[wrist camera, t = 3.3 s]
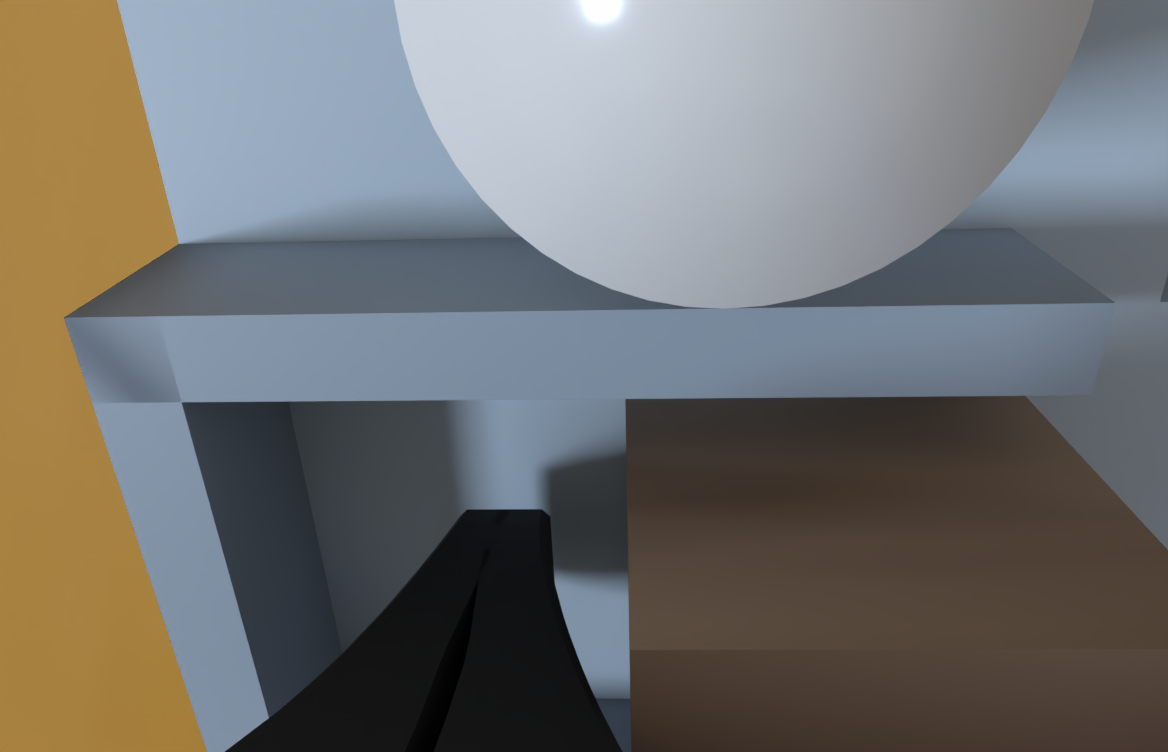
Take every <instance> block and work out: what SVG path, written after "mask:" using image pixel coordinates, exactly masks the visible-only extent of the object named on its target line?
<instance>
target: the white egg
mask: <svg viewBox="0 0 1168 752" xmlns="http://www.w3.org/2000/svg"><path fill="white" fill-rule="evenodd" d="M394 3H395V9H396V14H397V20H398V25H399V31H400V36H401V42H402V45H403V48H404V52H405V55H406V58H407V61H408V65H409V68H410V71H411V74H412V78H413V81H414V84H415V87H416V89H417V92H418V94H419V96H420V99H421V101H422V103H423V105H424V108H425V110H426V112H427V114H428V117H429V119H430V121H431V123H432V126H433V128H434V130H435V131H436V133H437V135H438V136H439V138H440V140H441V141H442V143H443V145H444V147H445V148H446V150H447V152H448V153H449V155H450V157H451V158H452V160H453V162H454V163H455V165H456V166H457V168H458V169H459V170H460V172H461V173H462V174H463V176H464V177H465V178H466V179H467V181H468V182H469V183H470V185H471V186H472V187H473V189H474V190H475V191H476V192H477V194H478V195H479V196H480V198H481V199H482V200H483V201H484V202H485V203H486V204H487V205H488V206H489V207H490V208H491V209H492V210H493V211H494V212H495V213H496V214H497V215H498V216H499V217H500V218H501V219H502V220H503V221H504V222H505V223H506V224H507V225H508V226H509V227H510V228H511V229H512V230H513V231H515V232H516V233H517V234H518V235H520V236H521V237H522V238H524V239H525V240H526V241H527V242H529V243H530V244H531V245H532V246H534V247H535V248H536V249H537V250H539V251H540V252H541V253H543V254H544V255H546V256H548V257H549V258H551V259H553V260H554V261H556V262H558V263H559V264H561V265H563V266H564V267H566V268H568V269H569V270H571V271H573V272H574V273H576V274H578V275H580V276H583V277H585V278H587V279H589V280H592V281H594V282H596V283H598V284H601V285H603V286H605V287H607V288H610V289H612V290H616V291H619V292H622V293H626V294H629V295H632V296H635V297H639V298H642V299H645V300H649V301H655V302H661V303H667V304H672V305H678V306H684V307H699V308H721V309H728V308H742V307H755V306H766V305H771V304H777V303H782V302H787V301H792V300H797V299H802V298H806V297H809V296H812V295H816V294H819V293H822V292H825V291H828V290H831V289H834V288H837V287H841V286H844V285H846V284H848V283H850V282H852V281H855V280H857V279H859V278H861V277H864V276H866V275H868V274H870V273H872V272H875V271H877V270H879V269H881V268H883V267H885V266H886V265H888V264H890V263H891V262H893V261H895V260H897V259H898V258H900V257H902V256H903V255H905V254H907V253H908V252H910V251H912V250H913V249H915V248H917V247H918V246H920V245H921V244H922V243H924V242H925V241H926V240H928V239H929V238H930V237H932V236H933V235H934V234H936V233H937V232H938V231H940V230H941V229H942V228H944V227H945V226H946V225H948V224H949V223H950V222H952V221H953V220H954V219H955V218H956V217H958V216H959V215H960V214H961V213H962V212H963V211H964V210H965V209H966V208H967V207H968V206H969V205H970V204H971V203H972V202H973V201H974V200H976V199H977V198H978V197H979V196H980V195H981V194H982V193H983V192H984V191H985V190H986V189H987V188H988V187H989V186H990V185H991V184H992V182H993V181H994V180H995V179H996V178H997V177H998V175H999V174H1000V173H1001V172H1002V171H1003V170H1004V168H1005V167H1006V166H1007V165H1008V164H1009V163H1010V161H1011V160H1012V159H1013V158H1014V157H1015V156H1016V154H1017V153H1018V152H1019V151H1020V149H1021V148H1022V146H1023V145H1024V143H1025V142H1026V140H1027V139H1028V137H1029V136H1030V134H1031V133H1032V132H1033V130H1034V129H1035V127H1036V126H1037V124H1038V123H1039V121H1040V120H1041V118H1042V117H1043V115H1044V114H1045V112H1046V111H1047V109H1048V107H1049V105H1050V103H1051V102H1052V100H1053V98H1054V96H1055V94H1056V92H1057V90H1058V88H1059V86H1060V85H1061V83H1062V81H1063V79H1064V77H1065V75H1066V73H1067V71H1068V70H1069V68H1070V65H1071V63H1072V60H1073V58H1074V55H1075V53H1076V50H1077V48H1078V45H1079V43H1080V40H1081V38H1082V35H1083V33H1084V30H1085V28H1086V25H1087V23H1088V20H1089V17H1090V14H1091V10H1092V6H1093V3H1094V0H394Z"/></svg>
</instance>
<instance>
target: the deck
mask: <svg viewBox="0 0 1168 752" xmlns="http://www.w3.org/2000/svg"><path fill="white" fill-rule="evenodd" d="M117 2H118V6H119V10H120V14H121V18H122V22H123V26H124V29H125V33H126V37H127V41H128V45H129V49H130V53H131V57H132V61H133V65H134V69H135V73H136V77H137V81H138V84H139V88H140V92H141V96H142V100H143V104H144V108H145V112H146V116H147V120H148V124H149V128H150V132H151V135H152V139H153V143H154V147H155V151H156V155H157V159H158V163H159V167H160V171H161V175H162V179H163V183H164V187H165V190H166V194H167V198H168V202H169V206H170V210H171V214H172V218H173V222H174V226H175V230H176V234H177V238H178V241H179V244H178V245H177V246H175V247H174V248H172V249H171V250H169V251H167V252H166V253H164V254H163V255H161V256H160V257H158V258H156V259H155V260H153V261H152V262H150V263H149V264H147V265H146V266H144V267H142V268H141V269H139V270H138V271H136V272H135V273H133V274H131V275H130V276H128V277H127V278H125V279H124V280H122V281H121V282H119V283H117V284H116V285H114V286H113V287H111V288H110V289H108V290H106V291H105V292H103V293H102V294H100V295H99V296H97V297H96V298H94V299H92V300H91V301H89V302H88V303H86V304H85V305H83V306H81V307H80V308H78V309H77V310H75V311H74V312H72V313H71V314H69V315H67V316H66V317H64V319H65V322H66V325H67V328H68V331H69V334H70V337H71V340H72V343H73V346H74V349H75V352H76V355H77V358H78V362H79V365H80V368H81V371H82V374H83V377H84V380H85V383H86V386H87V389H88V392H89V395H90V398H91V401H92V404H93V407H94V410H95V413H96V416H97V419H98V422H99V425H100V428H101V431H102V434H103V437H104V440H105V443H106V446H107V449H108V452H109V455H110V459H111V462H112V465H113V468H114V471H115V474H116V477H117V480H118V483H119V486H120V489H121V492H122V495H123V498H124V501H125V504H126V507H127V510H128V513H129V516H130V519H131V522H132V525H133V528H134V531H135V534H136V537H137V540H138V543H139V546H140V549H141V552H142V556H143V559H144V562H145V565H146V568H147V571H148V574H149V577H150V580H151V583H152V586H153V589H154V592H155V595H156V598H157V601H158V604H159V607H160V610H161V613H162V616H163V619H164V622H165V625H166V628H167V631H168V634H169V637H170V640H171V643H172V646H173V649H174V652H175V656H176V659H177V662H178V665H179V668H180V671H181V674H182V677H183V680H184V683H185V686H186V689H187V692H188V695H189V698H190V701H191V704H192V707H193V710H194V713H195V716H196V719H197V722H198V725H199V728H200V731H201V734H202V737H203V740H204V743H205V746H206V749H207V752H225V751H226V750H227V749H229V748H230V747H231V746H233V745H234V744H235V743H237V742H238V741H239V740H241V739H242V738H243V737H245V736H246V735H247V734H249V733H250V732H251V731H252V730H254V729H255V728H256V727H258V726H259V725H260V724H262V723H263V722H264V721H266V720H267V719H268V718H270V717H271V716H272V715H273V714H275V713H276V712H277V711H278V710H280V709H281V708H282V707H283V706H285V705H286V704H287V703H288V702H289V701H290V700H291V699H293V698H294V697H295V696H296V695H297V694H298V693H299V692H301V691H302V690H303V689H304V688H305V687H306V686H307V685H309V684H310V683H311V682H312V681H313V680H314V679H315V678H316V677H317V676H319V675H320V674H321V673H322V672H323V671H324V670H325V669H326V668H327V667H328V666H329V665H330V664H331V663H332V662H333V661H334V660H335V659H336V658H338V657H339V656H340V655H341V654H342V653H343V652H344V651H345V650H346V649H347V648H348V646H349V645H350V644H351V643H352V642H353V641H354V640H355V639H356V638H357V637H358V636H359V635H360V634H361V633H362V632H363V631H364V630H365V629H366V628H367V627H368V626H369V625H370V624H371V623H372V622H373V620H374V619H375V618H376V617H377V616H378V615H379V614H380V613H381V612H382V611H383V610H384V609H385V608H386V606H387V605H388V604H389V603H390V602H391V601H392V600H393V598H394V597H395V596H396V595H397V594H398V593H399V591H400V590H401V589H402V588H403V587H404V586H405V584H406V583H407V582H408V581H409V580H410V579H411V578H412V576H413V575H414V574H415V573H416V572H417V570H418V569H419V568H420V567H421V566H422V564H423V563H424V562H425V561H426V559H427V558H428V557H429V556H430V554H431V553H432V552H433V551H434V549H435V548H436V547H437V546H438V544H439V543H440V542H441V540H442V539H443V538H444V536H445V535H446V534H447V533H448V531H449V530H450V529H451V527H452V526H453V525H454V523H455V522H456V521H457V519H458V518H459V517H460V516H461V515H462V514H463V513H464V512H465V511H466V510H467V509H542V510H543V511H545V512H546V513H547V514H548V515H549V516H550V519H551V534H552V550H553V565H554V580H555V587H556V590H557V594H558V598H559V601H560V605H561V609H562V612H563V616H564V619H565V622H566V625H567V628H568V631H569V634H570V637H571V640H572V642H573V645H574V648H575V650H576V653H577V656H578V659H579V661H580V664H581V666H582V669H583V671H584V673H585V676H586V678H587V680H588V683H589V685H590V687H591V690H592V692H593V694H594V696H595V698H596V700H597V702H598V705H599V707H600V709H601V711H602V713H603V715H604V717H605V719H606V721H607V723H608V725H609V727H610V729H611V731H612V733H613V735H614V737H615V739H616V740H617V742H618V744H619V746H620V748H621V750H622V751H623V752H631V709H630V652H629V592H628V532H627V471H626V411H625V399H679V398H809V397H940V396H1026V397H1027V398H1028V399H1029V400H1030V401H1031V403H1032V404H1033V405H1034V406H1035V407H1036V408H1037V409H1038V410H1039V411H1040V412H1041V413H1042V414H1043V415H1044V417H1045V418H1046V419H1047V420H1048V421H1049V422H1050V423H1051V424H1052V425H1053V426H1054V427H1055V428H1056V430H1057V431H1058V432H1059V433H1060V434H1061V435H1062V436H1063V437H1064V438H1065V439H1066V440H1067V441H1068V443H1069V444H1070V445H1071V446H1072V447H1073V448H1074V449H1075V450H1076V451H1077V452H1078V453H1079V454H1080V455H1081V457H1082V458H1083V459H1084V460H1085V461H1086V462H1087V463H1088V464H1089V465H1090V466H1091V467H1092V468H1093V470H1094V471H1095V472H1096V473H1097V474H1098V475H1099V476H1100V477H1101V478H1102V479H1103V480H1104V481H1105V483H1106V484H1107V485H1108V486H1109V487H1110V488H1111V489H1112V490H1113V491H1114V492H1115V493H1116V494H1117V495H1118V497H1119V498H1120V499H1121V500H1122V501H1123V502H1124V503H1125V504H1126V505H1127V506H1128V507H1129V508H1130V510H1131V511H1132V512H1133V513H1134V514H1135V515H1136V516H1137V517H1138V518H1139V519H1140V520H1141V521H1142V523H1143V524H1144V525H1145V526H1146V527H1147V528H1148V529H1149V530H1150V531H1151V532H1152V533H1153V534H1154V536H1155V537H1156V538H1157V539H1158V540H1159V541H1160V542H1161V543H1162V544H1163V545H1164V546H1165V547H1166V548H1167V550H1168V0H1094V3H1093V6H1092V10H1091V14H1090V17H1089V20H1088V23H1087V25H1086V28H1085V30H1084V33H1083V35H1082V38H1081V40H1080V43H1079V45H1078V48H1077V50H1076V53H1075V55H1074V58H1073V60H1072V63H1071V65H1070V68H1069V70H1068V71H1067V73H1066V75H1065V77H1064V79H1063V81H1062V83H1061V85H1060V86H1059V88H1058V90H1057V92H1056V94H1055V96H1054V98H1053V100H1052V102H1051V103H1050V105H1049V107H1048V109H1047V111H1046V112H1045V114H1044V115H1043V117H1042V118H1041V120H1040V121H1039V123H1038V124H1037V126H1036V127H1035V129H1034V130H1033V132H1032V133H1031V134H1030V136H1029V137H1028V139H1027V140H1026V142H1025V143H1024V145H1023V146H1022V148H1021V149H1020V151H1019V152H1018V153H1017V154H1016V156H1015V157H1014V158H1013V159H1012V160H1011V161H1010V163H1009V164H1008V165H1007V166H1006V167H1005V168H1004V170H1003V171H1002V172H1001V173H1000V174H999V175H998V177H997V178H996V179H995V180H994V181H993V182H992V184H991V185H990V186H989V187H988V188H987V189H986V190H985V191H984V192H983V193H982V194H981V195H980V196H979V197H978V198H977V199H976V200H974V201H973V202H972V203H971V204H970V205H969V206H968V207H967V208H966V209H965V210H964V211H963V212H962V213H961V214H960V215H959V216H958V217H956V218H955V219H954V220H953V221H952V222H950V223H949V224H948V225H946V226H945V227H944V228H942V229H941V230H940V231H938V232H937V233H936V234H934V235H933V236H932V237H930V238H929V239H928V240H926V241H925V242H924V243H922V244H921V245H920V246H918V247H917V248H915V249H913V250H912V251H910V252H908V253H907V254H905V255H903V256H902V257H900V258H898V259H897V260H895V261H893V262H891V263H890V264H888V265H886V266H885V267H883V268H881V269H879V270H877V271H875V272H872V273H870V274H868V275H866V276H864V277H861V278H859V279H857V280H855V281H852V282H850V283H848V284H846V285H844V286H841V287H837V288H834V289H831V290H828V291H825V292H822V293H819V294H816V295H812V296H809V297H806V298H802V299H797V300H792V301H787V302H782V303H777V304H771V305H766V306H755V307H742V308H728V309H721V308H699V307H684V306H678V305H672V304H667V303H661V302H655V301H649V300H645V299H642V298H639V297H635V296H632V295H629V294H626V293H622V292H619V291H616V290H612V289H610V288H607V287H605V286H603V285H601V284H598V283H596V282H594V281H592V280H589V279H587V278H585V277H583V276H580V275H578V274H576V273H574V272H573V271H571V270H569V269H568V268H566V267H564V266H563V265H561V264H559V263H558V262H556V261H554V260H553V259H551V258H549V257H548V256H546V255H544V254H543V253H541V252H540V251H539V250H537V249H536V248H535V247H534V246H532V245H531V244H530V243H529V242H527V241H526V240H525V239H524V238H522V237H521V236H520V235H518V234H517V233H516V232H515V231H513V230H512V229H511V228H510V227H509V226H508V225H507V224H506V223H505V222H504V221H503V220H502V219H501V218H500V217H499V216H498V215H497V214H496V213H495V212H494V211H493V210H492V209H491V208H490V207H489V206H488V205H487V204H486V203H485V202H484V201H483V200H482V199H481V198H480V196H479V195H478V194H477V192H476V191H475V190H474V189H473V187H472V186H471V185H470V183H469V182H468V181H467V179H466V178H465V177H464V176H463V174H462V173H461V172H460V170H459V169H458V168H457V166H456V165H455V163H454V162H453V160H452V158H451V157H450V155H449V153H448V152H447V150H446V148H445V147H444V145H443V143H442V141H441V140H440V138H439V136H438V135H437V133H436V131H435V130H434V128H433V126H432V123H431V121H430V119H429V117H428V114H427V112H426V110H425V108H424V105H423V103H422V101H421V99H420V96H419V94H418V92H417V89H416V87H415V84H414V81H413V78H412V74H411V71H410V68H409V65H408V61H407V58H406V55H405V52H404V48H403V45H402V42H401V36H400V31H399V25H398V20H397V14H396V9H395V3H394V0H117Z"/></svg>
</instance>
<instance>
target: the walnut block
mask: <svg viewBox="0 0 1168 752" xmlns="http://www.w3.org/2000/svg"><path fill="white" fill-rule="evenodd" d="M625 411H626V471H627V532H628V592H629V652H630V709H631V752H1168V550H1167V548H1166V547H1165V546H1164V545H1163V544H1162V543H1161V542H1160V541H1159V540H1158V539H1157V538H1156V537H1155V536H1154V534H1153V533H1152V532H1151V531H1150V530H1149V529H1148V528H1147V527H1146V526H1145V525H1144V524H1143V523H1142V521H1141V520H1140V519H1139V518H1138V517H1137V516H1136V515H1135V514H1134V513H1133V512H1132V511H1131V510H1130V508H1129V507H1128V506H1127V505H1126V504H1125V503H1124V502H1123V501H1122V500H1121V499H1120V498H1119V497H1118V495H1117V494H1116V493H1115V492H1114V491H1113V490H1112V489H1111V488H1110V487H1109V486H1108V485H1107V484H1106V483H1105V481H1104V480H1103V479H1102V478H1101V477H1100V476H1099V475H1098V474H1097V473H1096V472H1095V471H1094V470H1093V468H1092V467H1091V466H1090V465H1089V464H1088V463H1087V462H1086V461H1085V460H1084V459H1083V458H1082V457H1081V455H1080V454H1079V453H1078V452H1077V451H1076V450H1075V449H1074V448H1073V447H1072V446H1071V445H1070V444H1069V443H1068V441H1067V440H1066V439H1065V438H1064V437H1063V436H1062V435H1061V434H1060V433H1059V432H1058V431H1057V430H1056V428H1055V427H1054V426H1053V425H1052V424H1051V423H1050V422H1049V421H1048V420H1047V419H1046V418H1045V417H1044V415H1043V414H1042V413H1041V412H1040V411H1039V410H1038V409H1037V408H1036V407H1035V406H1034V405H1033V404H1032V403H1031V401H1030V400H1029V399H1028V398H1027V397H1026V396H940V397H809V398H679V399H625Z"/></svg>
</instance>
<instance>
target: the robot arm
mask: <svg viewBox="0 0 1168 752" xmlns="http://www.w3.org/2000/svg"><path fill="white" fill-rule="evenodd" d="M225 752H623V751H622V750H621V748H620V746H619V744H618V742H617V740H616V739H615V737H614V735H613V733H612V731H611V729H610V727H609V725H608V723H607V721H606V719H605V717H604V715H603V713H602V711H601V709H600V707H599V705H598V702H597V700H596V698H595V696H594V694H593V692H592V690H591V687H590V685H589V683H588V680H587V678H586V676H585V673H584V671H583V669H582V666H581V664H580V661H579V659H578V656H577V653H576V650H575V648H574V645H573V642H572V640H571V637H570V634H569V631H568V628H567V625H566V622H565V619H564V616H563V612H562V609H561V605H560V601H559V598H558V594H557V590H556V587H555V580H554V565H553V550H552V534H551V519H550V516H549V515H548V514H547V513H546V512H545V511H543V510H542V509H467V510H466V511H465V512H464V513H463V514H462V515H461V516H460V517H459V518H458V519H457V521H456V522H455V523H454V525H453V526H452V527H451V529H450V530H449V531H448V533H447V534H446V535H445V536H444V538H443V539H442V540H441V542H440V543H439V544H438V546H437V547H436V548H435V549H434V551H433V552H432V553H431V554H430V556H429V557H428V558H427V559H426V561H425V562H424V563H423V564H422V566H421V567H420V568H419V569H418V570H417V572H416V573H415V574H414V575H413V576H412V578H411V579H410V580H409V581H408V582H407V583H406V584H405V586H404V587H403V588H402V589H401V590H400V591H399V593H398V594H397V595H396V596H395V597H394V598H393V600H392V601H391V602H390V603H389V604H388V605H387V606H386V608H385V609H384V610H383V611H382V612H381V613H380V614H379V615H378V616H377V617H376V618H375V619H374V620H373V622H372V623H371V624H370V625H369V626H368V627H367V628H366V629H365V630H364V631H363V632H362V633H361V634H360V635H359V636H358V637H357V638H356V639H355V640H354V641H353V642H352V643H351V644H350V645H349V646H348V648H347V649H346V650H345V651H344V652H343V653H342V654H341V655H340V656H339V657H338V658H336V659H335V660H334V661H333V662H332V663H331V664H330V665H329V666H328V667H327V668H326V669H325V670H324V671H323V672H322V673H321V674H320V675H319V676H317V677H316V678H315V679H314V680H313V681H312V682H311V683H310V684H309V685H307V686H306V687H305V688H304V689H303V690H302V691H301V692H299V693H298V694H297V695H296V696H295V697H294V698H293V699H291V700H290V701H289V702H288V703H287V704H286V705H285V706H283V707H282V708H281V709H280V710H278V711H277V712H276V713H275V714H273V715H272V716H271V717H270V718H268V719H267V720H266V721H264V722H263V723H262V724H260V725H259V726H258V727H256V728H255V729H254V730H252V731H251V732H250V733H249V734H247V735H246V736H245V737H243V738H242V739H241V740H239V741H238V742H237V743H235V744H234V745H233V746H231V747H230V748H229V749H227V750H226V751H225Z"/></svg>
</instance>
